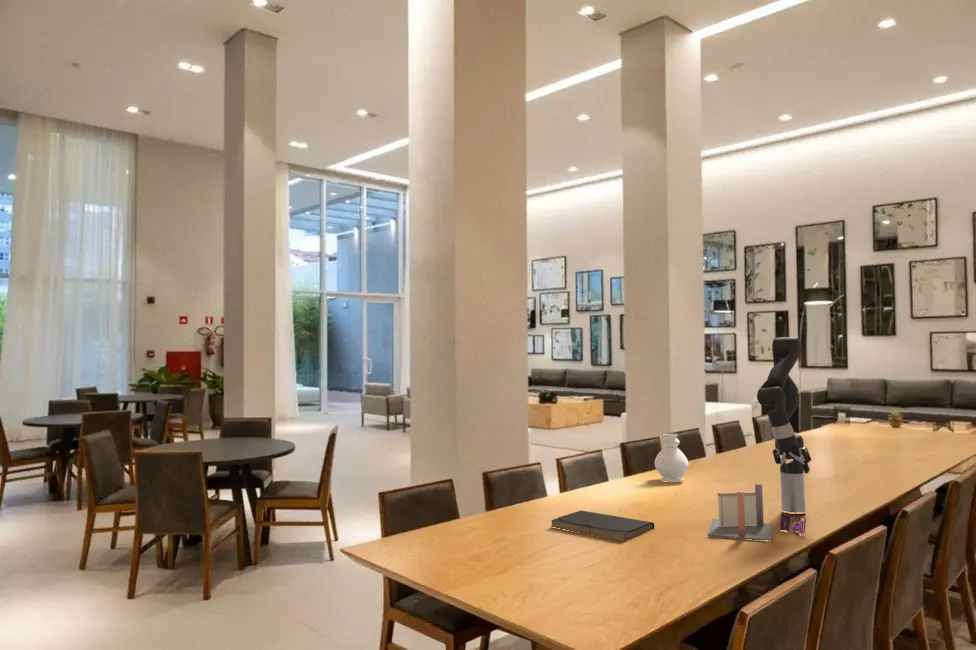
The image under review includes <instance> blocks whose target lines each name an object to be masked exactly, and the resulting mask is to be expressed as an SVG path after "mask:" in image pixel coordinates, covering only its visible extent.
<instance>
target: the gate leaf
mask: <svg viewBox="0 0 976 650" xmlns="http://www.w3.org/2000/svg"><path fill="white" fill-rule="evenodd" d="M737 492H738V491H719V492H717V504H718V505H717V508H718V520H719V525H720V526H738V507H737ZM743 492H744V510H745V525H756V499H755V496H756V495H755V491H753V490H752V491H750V490H749V491H743Z"/></svg>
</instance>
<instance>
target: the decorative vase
mask: <svg viewBox="0 0 976 650" xmlns="http://www.w3.org/2000/svg"><path fill="white" fill-rule="evenodd" d="M662 436H663V437H664V438H663V439H662V440H661V444H662V445H663V446H664V447H663V448H662V449H661V450H660V451H659V452H658V454H657V455H656V457H655V459H654V467H655V469H656V471H657V472H658V473H659V474H660V475H661V478H660V479H659V480H661V481H660V482H662V481H667V482H680V481H683V480H684V481H685V479H684V478H682V477H683V476H684V475H685V473H687V471H688V469H689V460H688V457H686V455H685V454H684V452H683V451H682V450H681V449H680V448H679V447H678V446H679V445H680V443H681V441H680V440H679V438H677V437H678V433H663V435H662ZM667 482H666V483H667ZM680 483H681V482H680Z"/></svg>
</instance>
